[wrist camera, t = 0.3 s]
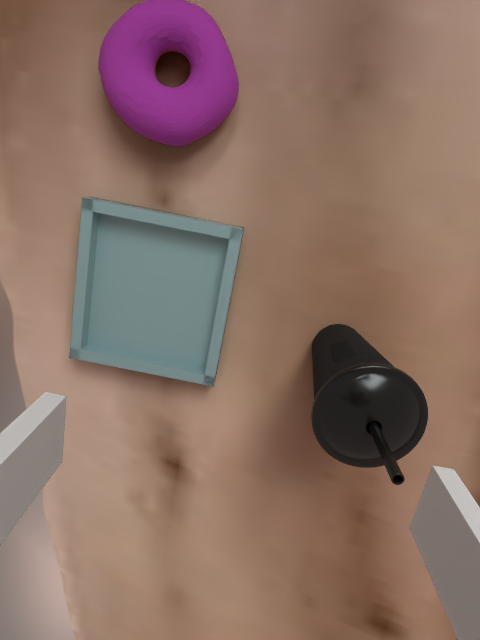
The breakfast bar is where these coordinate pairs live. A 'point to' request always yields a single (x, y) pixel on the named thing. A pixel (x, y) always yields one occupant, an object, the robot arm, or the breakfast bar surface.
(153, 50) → the donut
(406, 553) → the breakfast bar surface
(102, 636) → the breakfast bar surface
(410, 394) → the drinking cup
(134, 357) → the tray
